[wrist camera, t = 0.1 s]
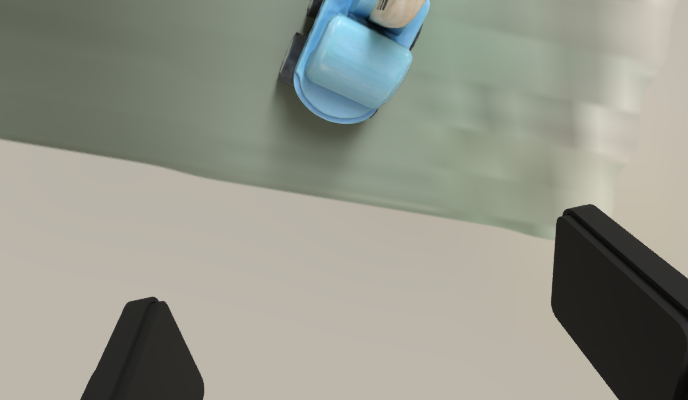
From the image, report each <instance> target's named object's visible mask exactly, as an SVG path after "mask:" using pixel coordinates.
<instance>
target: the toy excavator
mask: <svg viewBox="0 0 688 400" xmlns="http://www.w3.org/2000/svg"><path fill="white" fill-rule="evenodd" d="M429 7H430V2H429V0H311V2H310V5H309V7H308V9H307V16H310V17H313V18H315V22H314V24H313V26H312V29H311V31H310V33H309V36H308V37H307V36H305V35H303V34H300V33H298V32H296V34H295V35H294V37H293V39H292V40H291V44H290V46H289V48H288V50H287V52H286V55H285V58H284V60H283V62H282V65H281V68H280V72H279V77H278V80H280V81H282V82H284V83H286V84H289V85H291V86H293V87H295V91H296V93H297V95H298V97H299V98H300V100H301V101H302V103H303V104H304V105H305V106H306V107H307V108H308V109H309V110H310V111H311V112H313V113H314V114H315V115H317V116H319V117H321V118H323V119H325V120H327V121H330V122H334V123H340V124H353V123H359V122H362V121H364V120H367V119H368V118H371V117H372V116H373V115H374V114H375V113H376V112H377V110H378V109H379V107H380V106H381V105H383V104H384V103H385V102H386V101H388V100H389V99H390V98H391V96H392V95H393V94H394V92H395V91H396V90H397V88H398V87H399V85H400V84H401V82H402V81H403V79H404V77H405V75H406V73H407V71H408V69H409V67H410V65H411V63H412V54H411V52H410V51H411V49H412V48H413V47H414V45H415V42H416V40H417V38H418V36H419V34H420V31H421V28H422V25H423V21H424V19H425V17H426V15H427V13H428V11H429Z"/></svg>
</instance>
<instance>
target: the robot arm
mask: <svg viewBox="0 0 688 400" xmlns="http://www.w3.org/2000/svg"><path fill="white" fill-rule="evenodd" d="M551 306H552V310H553V313H554V315H555V317H556V318H557V319H558V321H559V322H560V323H561V325H562V326H563V327H564V328H565V330H566V331H567V332H568V334H569V335H570V336H571V338H572V339H573V340H574V342H575V343H576V344H577V346H578V347H579V348H580V350H581V351H582V352H583V353H584V355H585V356H586V357H587V359H588V360H589V361H590V363H591V364H592V365H593V367H594V368H595V369H596V370H597V372H598V373H599V374H600V376H601V377H602V378H603V380H604V381H605V382H606V384H607V385H608V386H609V387H610V389H611V390H612V391H613V393H614V394H615V395H616V397H617V398H618V399H619V400H688V279H687V278H686V277H685V276H684V275H682V274H681V273H680V272H679V271H677V270H676V269H675V268H673V267H672V266H671V265H670V264H668V263H667V262H666V261H664V260H663V259H662V258H661V257H659V256H658V255H657V254H656V253H654V252H653V251H651V249H649V248H648V247H647V246H645V245H644V244H643V243H642V242H640V241H639V240H638V239H636V238H635V237H634V236H633V235H631V234H630V233H629V232H628V231H626V230H625V229H624V228H622V227H621V226H620V225H619V224H617V223H616V222H615V221H614V220H612V219H611V218H610V217H608V216H607V215H606V214H605V213H603V212H602V211H601V210H600V209H598V208H597V207H596V206H594V205H592V204H588V205H583V206H579V207H574V208H569V209H566V210H565V211H564V212H563V215H562V216H561V217H559V218H558V219H557V223H556V237H555V252H554V266H553V281H552V296H551ZM203 396H204V383H203V379H202V377H201V374H200V372H199V370H198V368H197V366H196V364H195V362H194V360H193V358H192V356H191V354H190V351H189V349H188V347H187V345H186V343H185V341H184V339H183V337H182V335H181V332H180V331H179V328H178V326H177V324H176V322H175V320H174V318H173V316H172V314H171V312H170V309H169V307H168V305H167V304H166V302H164V301H160V302H159V301H158V299H157V298H155V297H149V298H144V299H140V300H135V301H130V302H128V303H127V304H126V306H125V307H124V309H123V311H122V314H121V316H120V318H119V320H118V322H117V325H116V327H115V329H114V331H113V333H112V335H111V338H110V340H109V342H108V344H107V346H106V348H105V351H104V353H103V355H102V357H101V359H100V361H99V363H98V366H97V368H96V370H95V371H94V373H93V375H92V376H91V378H90V380H89V382H88V384H87V387H86V389H85V391H84V393H83V395H82V397H81V399H80V400H203Z"/></svg>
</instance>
